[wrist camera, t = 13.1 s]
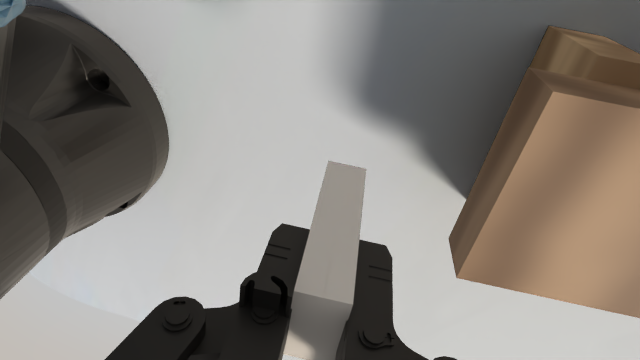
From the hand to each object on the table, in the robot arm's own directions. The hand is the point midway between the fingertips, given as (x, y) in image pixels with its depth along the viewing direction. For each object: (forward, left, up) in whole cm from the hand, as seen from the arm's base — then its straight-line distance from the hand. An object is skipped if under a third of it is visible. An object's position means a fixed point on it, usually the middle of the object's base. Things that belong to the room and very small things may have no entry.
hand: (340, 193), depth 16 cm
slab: (+15, 0, -5) cm, 15 cm away
